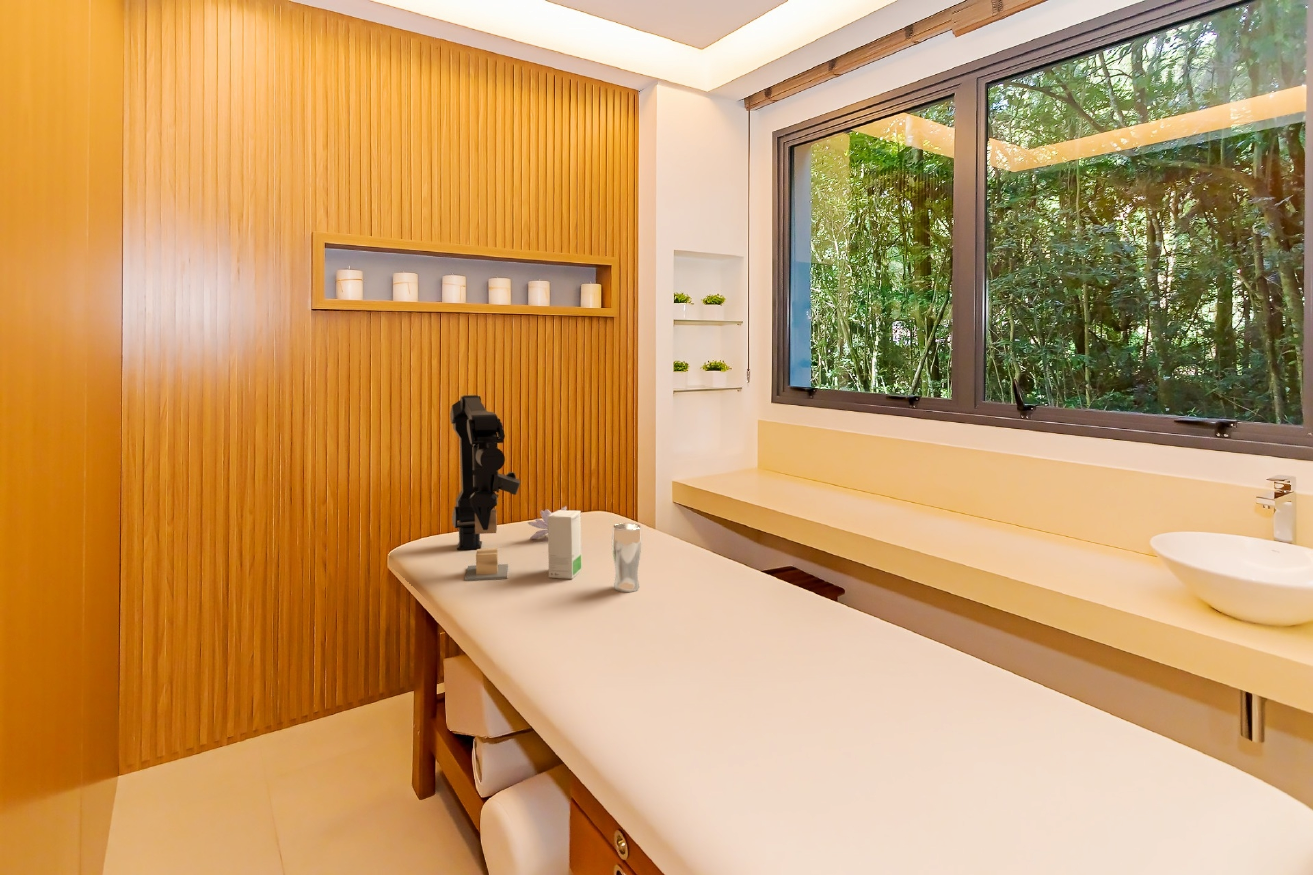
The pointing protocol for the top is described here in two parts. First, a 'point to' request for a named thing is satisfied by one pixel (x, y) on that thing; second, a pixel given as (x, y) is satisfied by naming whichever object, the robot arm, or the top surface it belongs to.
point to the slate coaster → (472, 574)
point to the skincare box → (564, 544)
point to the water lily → (542, 523)
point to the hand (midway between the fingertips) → (486, 527)
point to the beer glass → (626, 555)
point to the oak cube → (486, 561)
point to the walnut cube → (492, 523)
